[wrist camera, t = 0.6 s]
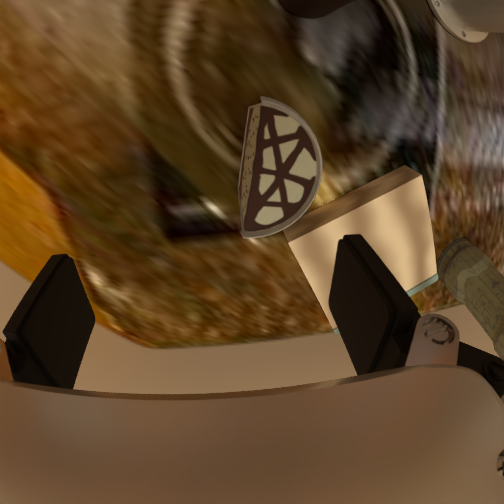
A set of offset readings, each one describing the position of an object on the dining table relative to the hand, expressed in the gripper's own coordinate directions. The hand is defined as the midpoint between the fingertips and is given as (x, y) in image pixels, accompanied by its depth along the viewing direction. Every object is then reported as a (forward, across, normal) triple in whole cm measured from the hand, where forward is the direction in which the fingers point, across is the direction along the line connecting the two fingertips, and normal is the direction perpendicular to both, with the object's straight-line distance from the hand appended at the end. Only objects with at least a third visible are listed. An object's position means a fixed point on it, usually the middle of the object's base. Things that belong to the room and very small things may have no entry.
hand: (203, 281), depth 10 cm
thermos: (+24, -39, +18) cm, 50 cm away
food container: (+24, -6, +1) cm, 25 cm away
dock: (+24, -20, +15) cm, 35 cm away
